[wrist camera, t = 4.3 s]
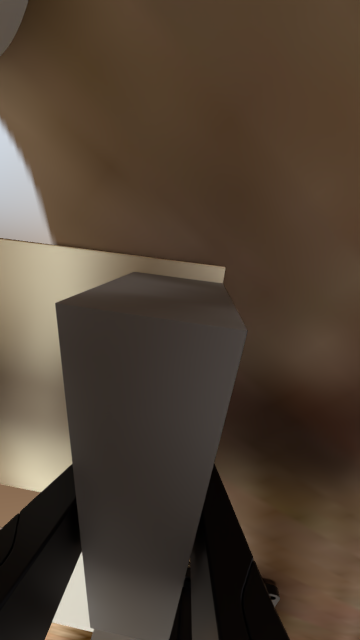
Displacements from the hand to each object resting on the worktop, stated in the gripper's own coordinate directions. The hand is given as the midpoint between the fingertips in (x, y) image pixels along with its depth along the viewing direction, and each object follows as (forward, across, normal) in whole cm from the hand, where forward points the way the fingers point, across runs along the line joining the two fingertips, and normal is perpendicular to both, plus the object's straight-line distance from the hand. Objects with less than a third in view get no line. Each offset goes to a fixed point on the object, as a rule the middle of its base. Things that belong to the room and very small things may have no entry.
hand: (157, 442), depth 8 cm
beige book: (+1, +8, 0) cm, 9 cm away
